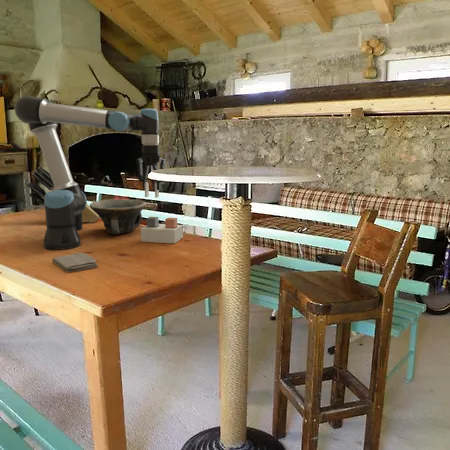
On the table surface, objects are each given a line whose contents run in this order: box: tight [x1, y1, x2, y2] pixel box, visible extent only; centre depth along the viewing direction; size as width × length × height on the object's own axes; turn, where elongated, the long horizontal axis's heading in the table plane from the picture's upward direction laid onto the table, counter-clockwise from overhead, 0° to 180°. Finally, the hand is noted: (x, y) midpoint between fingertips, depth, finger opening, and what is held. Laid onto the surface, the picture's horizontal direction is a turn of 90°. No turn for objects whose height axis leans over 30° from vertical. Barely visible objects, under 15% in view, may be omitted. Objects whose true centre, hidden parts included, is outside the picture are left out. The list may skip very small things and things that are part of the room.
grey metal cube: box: [146, 216, 160, 228], centre depth 206 cm, size 4×4×4 cm
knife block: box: [26, 166, 100, 224], centre depth 243 cm, size 11×35×31 cm, turn 106°
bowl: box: [89, 198, 147, 235], centre depth 220 cm, size 27×26×15 cm
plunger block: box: [140, 223, 184, 244], centre depth 206 cm, size 12×16×6 cm
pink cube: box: [164, 217, 178, 229], centre depth 204 cm, size 4×4×4 cm
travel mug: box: [75, 212, 83, 232], centre depth 226 cm, size 8×8×20 cm
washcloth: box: [51, 252, 99, 273], centre depth 166 cm, size 12×18×3 cm, turn 39°
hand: (151, 196), depth 203 cm, fingers open, 4 cm apart
